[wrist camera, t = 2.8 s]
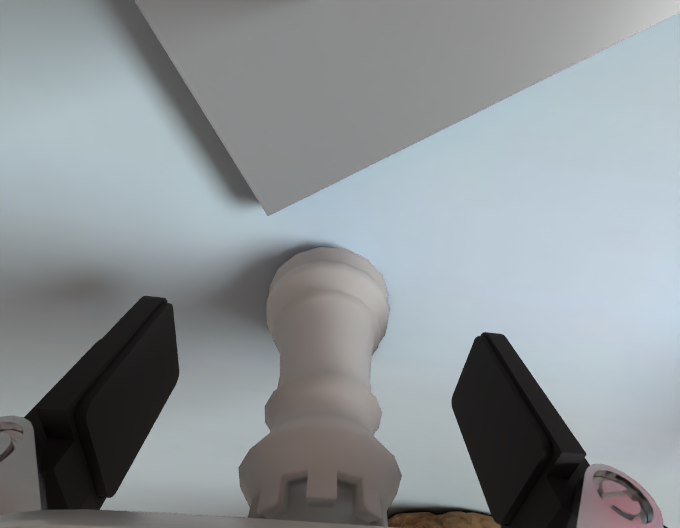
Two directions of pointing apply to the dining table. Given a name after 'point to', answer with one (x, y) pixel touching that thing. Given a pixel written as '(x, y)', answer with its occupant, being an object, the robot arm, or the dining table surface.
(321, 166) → the baseplate
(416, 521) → the block
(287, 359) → the rook chess piece
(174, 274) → the dining table surface
